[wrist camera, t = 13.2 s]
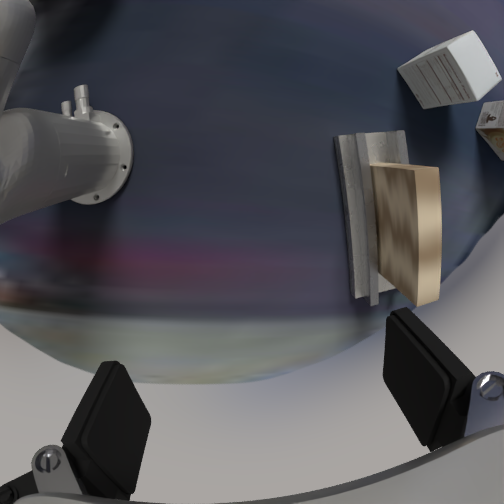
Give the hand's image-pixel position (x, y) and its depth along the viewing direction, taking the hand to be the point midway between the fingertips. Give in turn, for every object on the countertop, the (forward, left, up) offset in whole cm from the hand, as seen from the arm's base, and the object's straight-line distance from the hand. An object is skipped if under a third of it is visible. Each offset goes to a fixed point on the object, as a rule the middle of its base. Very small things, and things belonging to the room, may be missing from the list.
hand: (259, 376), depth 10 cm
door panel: (+3, +18, -28) cm, 34 cm away
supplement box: (-16, +30, -31) cm, 46 cm away
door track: (+3, +18, -30) cm, 35 cm away
